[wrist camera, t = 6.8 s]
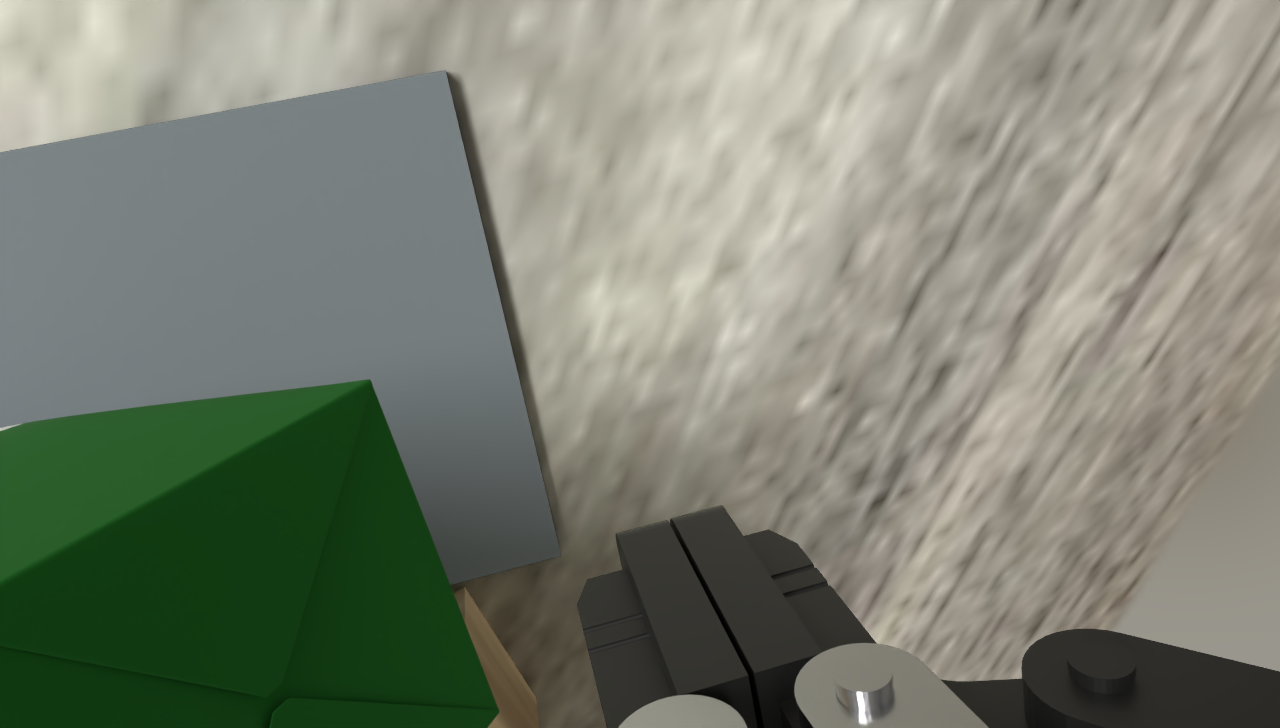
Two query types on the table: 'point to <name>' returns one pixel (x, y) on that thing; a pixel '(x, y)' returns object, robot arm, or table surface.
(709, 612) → the robot arm
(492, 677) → the oak block
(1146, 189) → the table surface
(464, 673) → the soya milk
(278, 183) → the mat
